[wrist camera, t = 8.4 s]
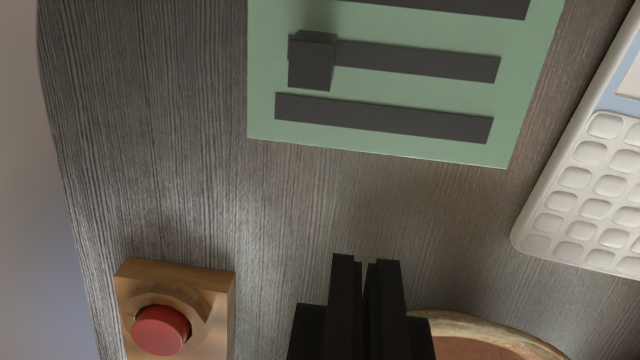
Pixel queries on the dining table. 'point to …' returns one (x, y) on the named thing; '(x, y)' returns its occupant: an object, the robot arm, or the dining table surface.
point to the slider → (312, 60)
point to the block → (179, 305)
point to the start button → (160, 330)
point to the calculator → (594, 173)
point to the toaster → (402, 75)
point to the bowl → (482, 339)
